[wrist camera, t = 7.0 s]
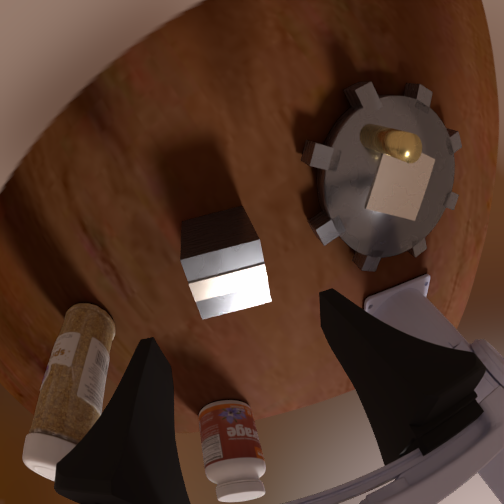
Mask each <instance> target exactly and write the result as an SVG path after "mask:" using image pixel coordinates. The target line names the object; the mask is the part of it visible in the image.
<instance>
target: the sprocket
mask: <svg viewBox="0 0 504 504" xmlns="http://www.w3.org/2000/svg"><path fill="white" fill-rule="evenodd" d="M343 91H344V93H345V95H346V97H347V99H348V101H349V103H350V105H351V107H350V108H349V109H348V110H347V111H346V112H345V113H344V114H342V116H341V117H340V118H339V119H338V120H337V122H336V123H335V124H334V126H333V127H332V129H331V131H330V132H329V134H328V136H327V138H326V140H325V142H324V144H320V143H317V142H313V141H309V140H306V142H305V146H304V150H303V154H302V158H301V161H302V162H304V163H306V164H307V165H309V166H312V167H317V168H318V171H317V191H318V197H319V202H320V206H321V209H322V212H320V213H319V214H317V215H316V216H314V217H313V218H311V219H310V220H308V223H309V225H310V227H311V228H312V230H313V232H314V234H315V235H316V237H317V238H318V239H319V240H320V241H321V242H322V243H323V245H324V246H325V245H326V244H327V243H329V242H330V241H332V240H333V239H335V238H336V237H338V236H339V237H340V238H341V239H342V240H343V241H344V242H345V243H346V244H348V245H349V246H350V247H351V248H352V249H354V250H355V251H356V252H355V255H354V257H353V260H352V261H353V262H354V263H355V264H356V265H357V266H358V267H359V268H360V269H361V270H363V271H376V268H377V266H378V264H379V261H380V259H381V257H390V256H394V255H398V254H400V253H403V252H405V251H408V252H409V253H410V254H412V255H413V256H414V257H415V258H416V257H417V256H418V255H419V254H421V253H422V252H423V251H424V250H426V249H427V246H426V241H425V237H426V236H427V235H428V234H429V233H430V232H431V231H432V229H433V228H434V227H435V225H436V224H437V222H438V221H439V219H440V218H441V216H442V214H443V212H444V210H445V208H446V207H447V208H450V209H452V210H454V207H455V205H456V202H457V199H458V196H459V195H458V194H456V193H454V192H452V186H453V181H454V169H455V163H454V153H455V152H456V151H457V150H458V149H460V148H461V147H462V145H461V141H460V136H459V132H458V131H455V130H451V129H447V128H445V126H444V124H443V122H442V121H441V119H440V118H439V117H438V116H437V114H436V113H435V112H434V111H433V110H432V109H431V108H430V103H431V98H432V93H433V92H431V91H430V90H428V89H427V88H425V87H424V86H422V85H421V84H411V83H406V86H405V91H404V96H395V95H377V92H376V90H375V88H374V86H373V84H372V82H358V83H356V84H354V85H352V86H350V87H348V88H346V89H344V90H343Z"/></svg>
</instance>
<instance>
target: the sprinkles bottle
mask: <svg viewBox="0 0 504 504" xmlns="http://www.w3.org/2000/svg"><path fill="white" fill-rule="evenodd" d="M115 330H116V329H115V324H114V322H113V320H112V318H111V317H110V315H109V314H108V313H107V312H106V311H104V310H103V309H101V308H100V307H98V306H96V305H93V304H90V303H79V304H75V305H73V306H72V307H70V309H68V311H67V312H66V316H65V321H64V324H63V326H62V328H61V331H60V334H59V337H58V338H57V340H56V342H55V345H54V348H53V351H52V354H51V357H50V360H49V363H48V366H47V369H46V373H45V376H44V379H43V382H42V385H41V389H40V395H39V399H38V403H37V406H36V410H35V416H34V419H33V423H32V427H31V429H30V430H29V433H30V434H28V435H27V436H26V439H25V444H24V450H23V462H24V463H25V464H26V465H27V466H28V467H29V468H30V469H31V470H33V471H34V472H36V473H38V474H40V475H41V476H43V477H45V478H48V479H50V480H52V481H55V472H56V464H57V463H58V462H59V461H60V460H61V459H62V458H63V457H65V456H66V455H67V454H68V453H69V452H70V451H71V450H72V449H73V448H74V447H75V446H76V445H77V444H78V443H79V442H80V441H81V440H82V438H83V437H84V436H85V435H86V434H87V433H88V431H89V430H90V429H91V427H92V426H93V425H94V424H95V422H96V421H97V420H98V418H99V417H100V415H101V411H102V402H103V396H104V389H105V382H106V376H107V370H108V364H109V352H110V348H111V343H112V340H113V339H114V336H115Z"/></svg>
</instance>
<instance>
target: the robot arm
mask: <svg viewBox="0 0 504 504" xmlns="http://www.w3.org/2000/svg"><path fill="white" fill-rule="evenodd" d="M429 282H430V275H428V274H425V275H423V276H420V277H418V278H415V279H413V280H411V281H408V282H406V283H403V284H401V285H398V286H396V287H393V288H390V289H388V290H385V291H383V292H380V293H377V294H375V295H372V296H369V297H367V298H366V300H365V302H364V310H363V309H362V308H360V307H359V306H357V305H356V304H354V303H353V302H351V301H350V300H349V299H347V298H346V297H344V296H343V295H341V294H340V293H339V292H337V291H336V290H334V289H333V288H332V289H329V290H326V291H322V292H319V297H320V318H321V328H322V330H323V332H324V334H325V337H326V339H327V341H328V343H329V345H330V347H331V349H332V351H333V352H334V354H335V355H336V357H337V359H338V360H339V362H340V364H341V365H342V367H343V369H344V370H345V372H346V374H347V375H348V377H349V379H350V380H351V382H352V384H353V386H354V387H355V389H356V391H357V394H358V396H359V398H360V400H361V403H362V405H363V407H364V410H365V412H366V414H367V417H368V419H369V422H370V424H371V427H372V429H373V432H374V435H375V438H376V440H377V443H378V446H379V449H380V452H381V455H382V459H383V462H384V464H385V466H384V467H382V468H380V469H377V470H375V471H373V472H371V473H369V474H367V475H364V476H362V477H359V478H357V479H355V480H352V481H350V482H347V483H345V484H342V485H340V486H337V487H334V488H332V489H329V490H326V491H323V492H320V493H317V494H314V495H311V496H307V497H304V498H301V499H297V500H293V501H290V502H286V503H282V504H338V503H341V502H344V501H346V500H349V499H351V498H354V497H356V496H359V495H361V494H363V493H366V492H368V491H370V490H373V489H375V488H377V487H379V486H381V485H383V484H385V483H387V482H389V481H391V480H393V479H395V478H396V479H395V480H394V481H393V482H391V483H390V484H388V485H386V486H384V487H382V488H380V489H379V490H377V491H375V492H373V493H371V494H369V495H367V496H366V499H364V500H362V501H361V502H360V503H359V504H437V503H438V502H440V501H441V500H443V499H444V498H446V497H447V496H448V495H449V494H451V493H453V492H454V491H455V490H456V489H458V488H459V487H460V486H461V485H463V484H464V483H465V482H467V481H468V480H469V479H470V478H472V477H473V476H474V475H475V474H476V473H477V472H478V473H479V475H480V476H481V477H482V479H483V480H484V481H485V482H486V484H487V485H488V486H489V488H490V489H491V490H492V491H493V493H494V494H495V495H496V497H497V498H498V499H499V501H500V502H501V503H502V504H504V358H503V357H502V356H501V355H500V353H499V352H498V351H497V350H496V349H495V348H494V347H493V346H492V345H491V344H490V343H488V342H487V341H486V340H484V339H480V340H477V339H476V340H474V342H473V343H472V344H470V343H468V342H467V341H466V340H465V338H464V337H463V336H462V335H461V334H460V333H459V332H458V331H457V330H456V328H455V327H454V326H453V325H452V324H451V323H450V322H449V321H448V320H447V319H446V318H445V317H444V316H443V314H442V313H441V312H440V311H439V310H438V309H437V308H436V307H435V306H434V305H433V304H432V303H431V302H430V301H429V300H428V299H427V298H426V296H427V291H428V287H429ZM369 305H370V306H369ZM54 489H55V491H56V492H57V493H58V494H60V495H62V496H64V497H66V498H68V499H70V500H73V501H75V502H77V503H80V504H190V501H189V498H188V495H187V492H186V488H185V484H184V480H183V476H182V472H181V468H180V463H179V458H178V453H177V447H176V441H175V430H174V386H173V378H172V371H171V366H170V364H169V363H168V361H167V359H166V358H165V356H164V354H163V353H162V351H161V349H160V348H159V346H158V344H157V343H156V341H155V339H154V337H152V338H147V339H142V340H140V342H139V344H138V346H137V348H136V350H135V352H134V354H133V356H132V359H131V361H130V363H129V365H128V367H127V369H126V371H125V373H124V375H123V377H122V379H121V381H120V383H119V385H118V387H117V389H116V391H115V393H114V394H113V397H112V398H111V400H110V402H109V403H108V405H107V406H106V408H105V409H104V411H103V412H102V414H101V415H100V417H99V418H98V420H97V421H96V422H95V424H94V425H93V426H92V427H91V429H90V430H89V431H88V433H87V434H86V435H85V436H84V437H83V438H82V440H81V441H80V442H79V443H78V444H77V445H76V446H75V447H74V448H73V449H72V450H71V451H70V452H69V453H68V454H67V455H66V456H65V457H63V458H62V459H61V460H60V461H59V462H58V463H57V464H56V472H55V484H54Z"/></svg>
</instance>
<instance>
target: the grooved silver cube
mask: <svg viewBox="0 0 504 504" xmlns="http://www.w3.org/2000/svg"><path fill="white" fill-rule="evenodd" d="M180 260H181V263H182V266H183V269H184V272H185V274H186V277H187V280H188V283H189V286H190V289H191V292H192V294H193V297H194V300H195V302H196V304H197V306H198V309H199V312H200V314H201V317H202V319H206V318H210V317H214V316H218V315H222V314H226V313H230V312H234V311H237V310H241V309H245V308H249V307H252V306H256V305H260V304H263V303H267V302H271V297H270V292H269V286H268V279H267V274H266V269H265V264H264V259H263V254H262V249H261V243H260V239H259V237H258V235H257V233H256V231H255V229H254V227H253V225H252V223H251V221H250V219H249V217H248V215H247V213H246V212H245V210H244V208H243V206H240V207H236V208H232V209H228V210H224V211H220V212H216V213H212V214H208V215H204V216H201V217H197V218H193V219H189V220H186V221H182V230H181V257H180Z"/></svg>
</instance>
